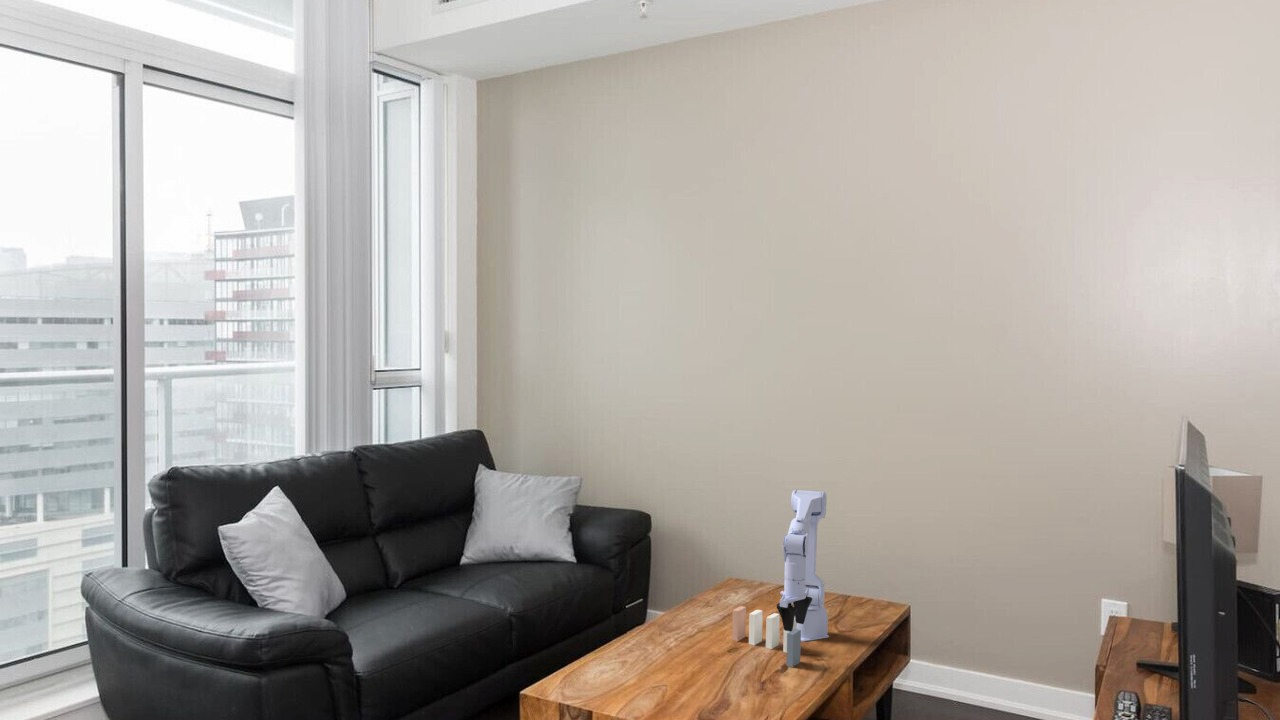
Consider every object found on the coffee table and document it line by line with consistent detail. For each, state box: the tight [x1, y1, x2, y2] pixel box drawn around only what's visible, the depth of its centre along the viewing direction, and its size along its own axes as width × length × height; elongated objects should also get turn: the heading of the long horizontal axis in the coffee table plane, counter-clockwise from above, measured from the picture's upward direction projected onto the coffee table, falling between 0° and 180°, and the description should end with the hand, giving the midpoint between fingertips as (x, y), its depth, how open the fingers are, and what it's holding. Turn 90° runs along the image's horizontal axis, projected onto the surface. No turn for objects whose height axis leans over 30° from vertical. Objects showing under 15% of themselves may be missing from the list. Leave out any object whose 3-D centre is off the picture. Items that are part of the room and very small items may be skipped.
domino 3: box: [765, 612, 781, 650], centre depth 270 cm, size 2×5×9 cm, turn 146°
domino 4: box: [782, 618, 797, 654], centre depth 266 cm, size 2×5×9 cm, turn 146°
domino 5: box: [786, 629, 802, 668], centre depth 256 cm, size 2×5×9 cm, turn 146°
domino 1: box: [731, 605, 747, 643], centre depth 276 cm, size 2×5×9 cm, turn 146°
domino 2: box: [748, 608, 764, 646], centre depth 273 cm, size 2×5×9 cm, turn 146°
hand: (794, 626), depth 256 cm, fingers open, 7 cm apart
